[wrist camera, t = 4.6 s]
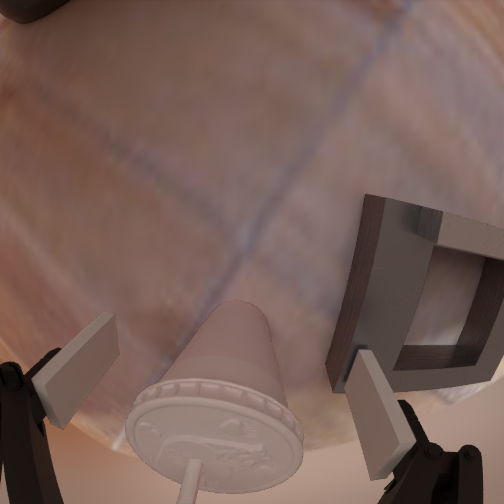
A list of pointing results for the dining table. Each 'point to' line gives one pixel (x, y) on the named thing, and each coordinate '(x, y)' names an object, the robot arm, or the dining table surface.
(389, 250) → the jig
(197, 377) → the smoothie
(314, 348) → the dining table surface
